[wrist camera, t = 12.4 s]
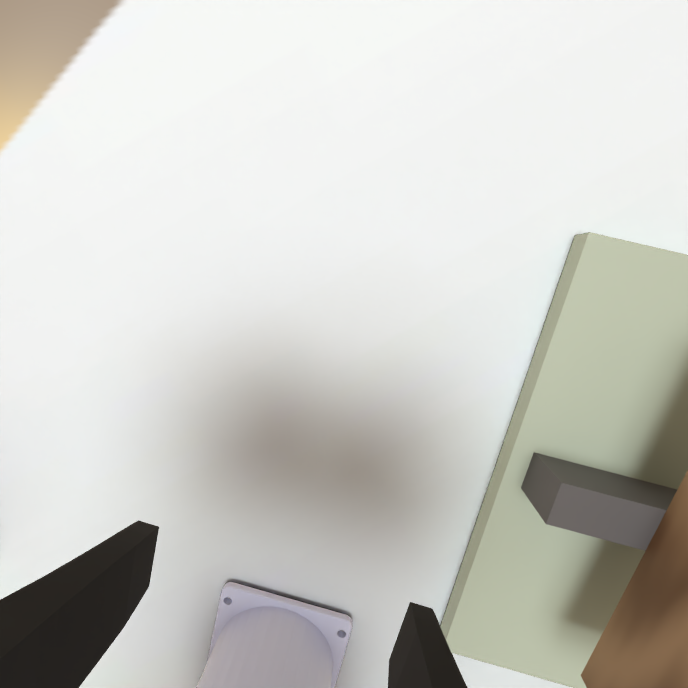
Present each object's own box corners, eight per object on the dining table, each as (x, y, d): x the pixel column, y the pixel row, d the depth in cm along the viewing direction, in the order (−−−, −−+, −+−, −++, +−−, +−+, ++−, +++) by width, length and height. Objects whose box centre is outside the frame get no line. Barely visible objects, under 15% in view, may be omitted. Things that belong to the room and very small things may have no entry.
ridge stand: (679, 698, 21) (748, 794, 17) (439, 629, 22) (452, 706, 18) (880, 306, 17) (1034, 313, 13) (574, 235, 17) (632, 222, 14)
